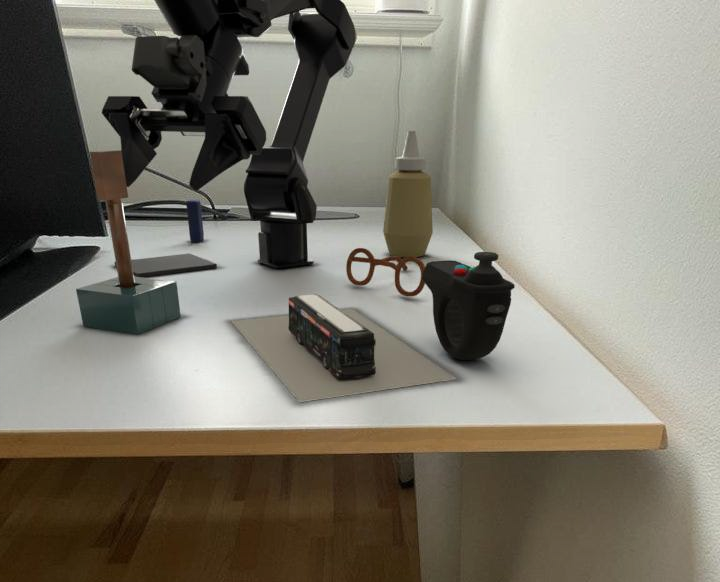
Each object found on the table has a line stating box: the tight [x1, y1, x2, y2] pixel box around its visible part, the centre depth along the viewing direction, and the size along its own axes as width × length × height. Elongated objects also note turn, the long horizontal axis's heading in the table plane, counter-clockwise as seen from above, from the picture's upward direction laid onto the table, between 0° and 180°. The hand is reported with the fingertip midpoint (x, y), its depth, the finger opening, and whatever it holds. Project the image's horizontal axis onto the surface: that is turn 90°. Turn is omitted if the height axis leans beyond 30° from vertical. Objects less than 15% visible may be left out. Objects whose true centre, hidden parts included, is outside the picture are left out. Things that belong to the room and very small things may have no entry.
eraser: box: [185, 199, 205, 243], centre depth 116 cm, size 2×2×7 cm
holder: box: [75, 276, 182, 335], centre depth 72 cm, size 7×7×4 cm
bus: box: [230, 293, 457, 403], centre depth 65 cm, size 14×25×4 cm, turn 22°
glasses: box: [345, 247, 426, 297], centre depth 88 cm, size 13×13×5 cm
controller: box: [420, 251, 516, 361], centre depth 62 cm, size 4×12×10 cm, turn 19°
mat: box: [114, 253, 218, 278], centre depth 99 cm, size 12×10×1 cm
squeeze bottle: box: [382, 130, 434, 259], centre depth 104 cm, size 8×8×18 cm
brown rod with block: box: [89, 149, 135, 288], centre depth 69 cm, size 3×2×17 cm, turn 157°
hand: (157, 186), depth 73 cm, fingers open, 9 cm apart
